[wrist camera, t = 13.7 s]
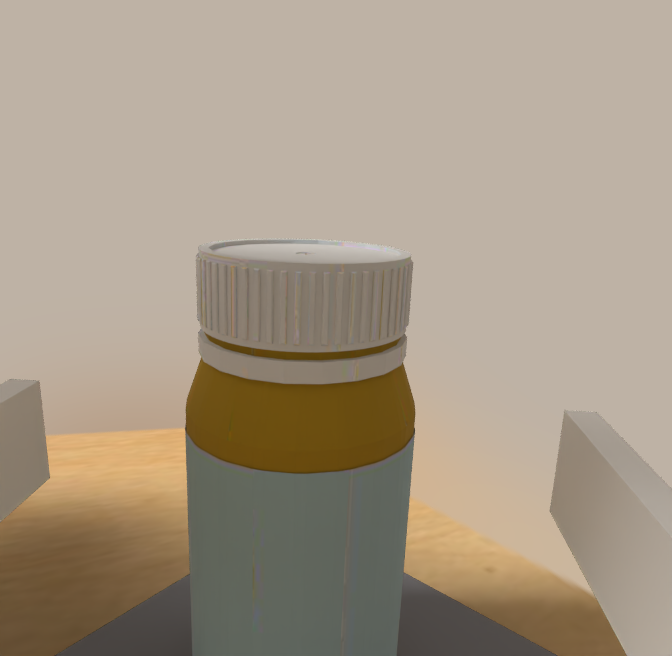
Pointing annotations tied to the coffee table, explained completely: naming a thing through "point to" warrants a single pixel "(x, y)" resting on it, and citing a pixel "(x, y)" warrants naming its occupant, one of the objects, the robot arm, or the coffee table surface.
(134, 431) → the coffee table surface
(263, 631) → the bottle
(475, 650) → the charcoal mat
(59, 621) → the coffee table surface
